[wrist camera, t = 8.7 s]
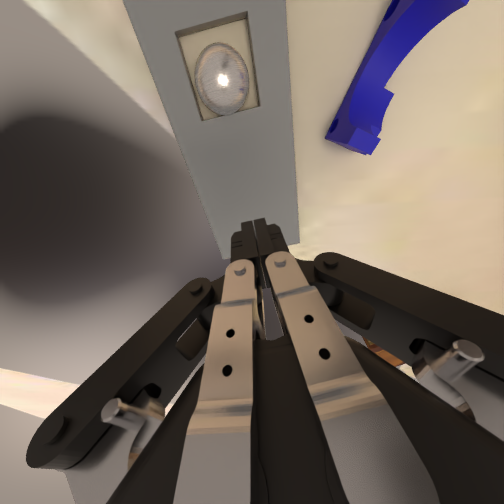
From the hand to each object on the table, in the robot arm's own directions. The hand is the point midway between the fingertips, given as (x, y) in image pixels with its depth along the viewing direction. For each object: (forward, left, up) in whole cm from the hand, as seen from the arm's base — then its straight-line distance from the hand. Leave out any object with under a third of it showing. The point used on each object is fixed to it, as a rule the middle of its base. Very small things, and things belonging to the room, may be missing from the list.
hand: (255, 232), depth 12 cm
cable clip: (-5, +16, -17) cm, 23 cm away
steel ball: (-9, 0, -14) cm, 16 cm away
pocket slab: (-1, 0, -16) cm, 16 cm away
